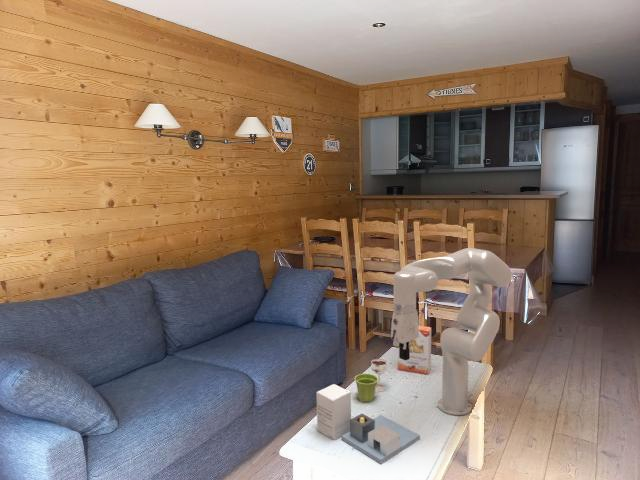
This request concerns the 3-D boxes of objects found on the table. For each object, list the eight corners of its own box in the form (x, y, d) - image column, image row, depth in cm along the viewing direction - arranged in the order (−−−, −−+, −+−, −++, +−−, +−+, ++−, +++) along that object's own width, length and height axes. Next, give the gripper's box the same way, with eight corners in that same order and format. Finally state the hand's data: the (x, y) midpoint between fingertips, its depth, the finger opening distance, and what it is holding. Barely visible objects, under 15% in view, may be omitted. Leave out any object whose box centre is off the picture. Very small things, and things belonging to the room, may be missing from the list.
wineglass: (386, 393, 191) (386, 365, 189) (370, 391, 192) (370, 364, 190) (387, 385, 197) (387, 359, 196) (372, 384, 199) (371, 358, 197)
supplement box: (334, 420, 171) (333, 382, 169) (352, 430, 165) (351, 391, 162) (316, 430, 165) (315, 391, 163) (333, 440, 159) (333, 400, 156)
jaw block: (374, 436, 158) (374, 420, 157) (362, 443, 154) (362, 426, 153) (362, 429, 163) (362, 413, 162) (350, 435, 159) (349, 419, 158)
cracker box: (397, 370, 212) (397, 327, 208) (400, 365, 217) (401, 322, 214) (428, 375, 206) (429, 330, 203) (430, 369, 212) (431, 326, 208)
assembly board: (380, 418, 172) (380, 397, 171) (419, 439, 158) (420, 416, 157) (341, 440, 159) (341, 416, 158) (380, 464, 146) (380, 439, 144)
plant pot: (363, 390, 193) (363, 371, 192) (382, 397, 188) (382, 377, 186) (350, 399, 186) (349, 379, 185) (369, 406, 180) (369, 386, 179)
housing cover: (382, 437, 157) (382, 424, 157) (400, 447, 151) (400, 434, 151) (367, 445, 153) (367, 432, 152) (386, 456, 147) (386, 443, 146)
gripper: (399, 315, 149) (398, 368, 152) (427, 305, 159) (426, 355, 161) (381, 310, 155) (381, 361, 157) (409, 300, 164) (409, 349, 167)
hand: (404, 358), depth 159 cm, fingers closed
